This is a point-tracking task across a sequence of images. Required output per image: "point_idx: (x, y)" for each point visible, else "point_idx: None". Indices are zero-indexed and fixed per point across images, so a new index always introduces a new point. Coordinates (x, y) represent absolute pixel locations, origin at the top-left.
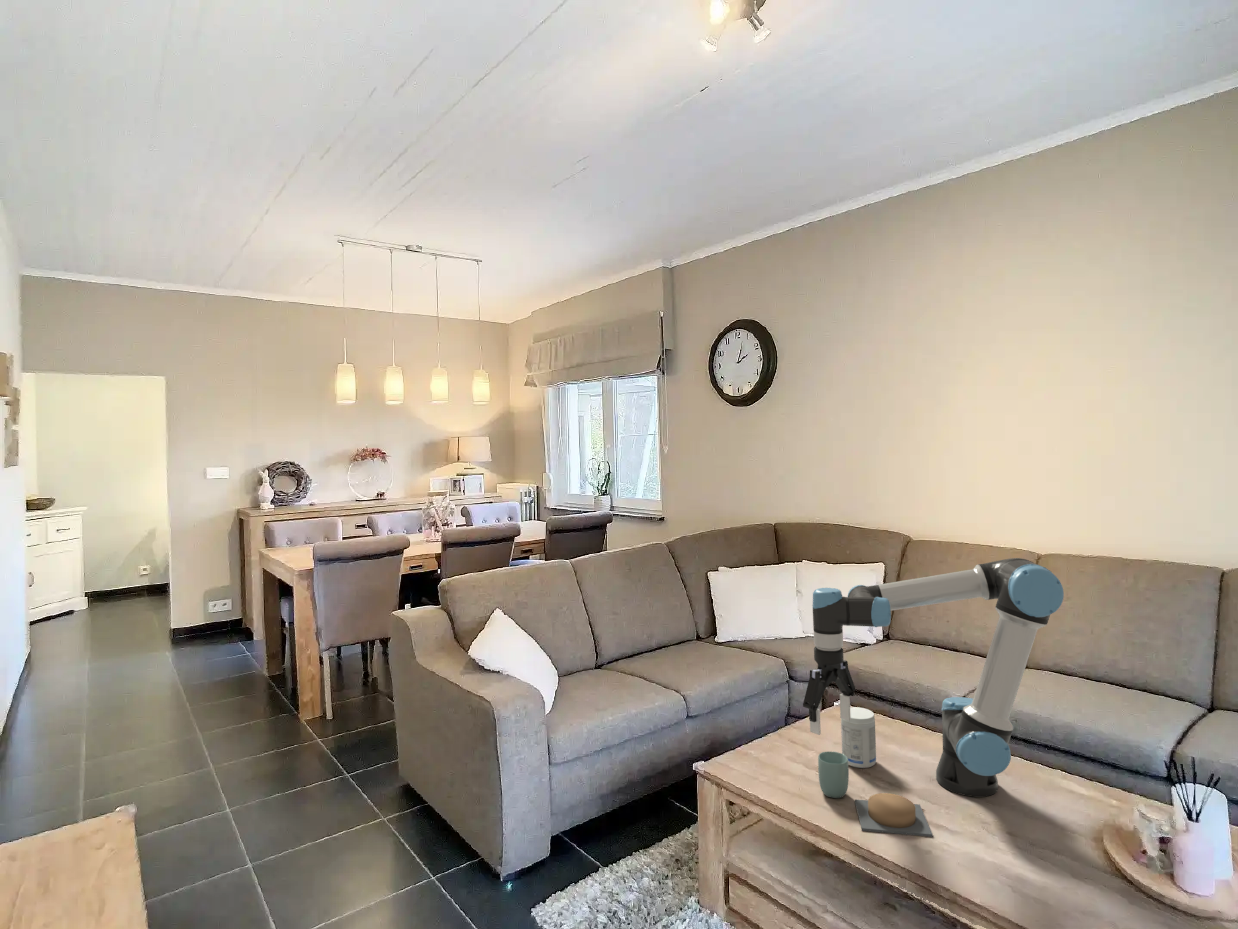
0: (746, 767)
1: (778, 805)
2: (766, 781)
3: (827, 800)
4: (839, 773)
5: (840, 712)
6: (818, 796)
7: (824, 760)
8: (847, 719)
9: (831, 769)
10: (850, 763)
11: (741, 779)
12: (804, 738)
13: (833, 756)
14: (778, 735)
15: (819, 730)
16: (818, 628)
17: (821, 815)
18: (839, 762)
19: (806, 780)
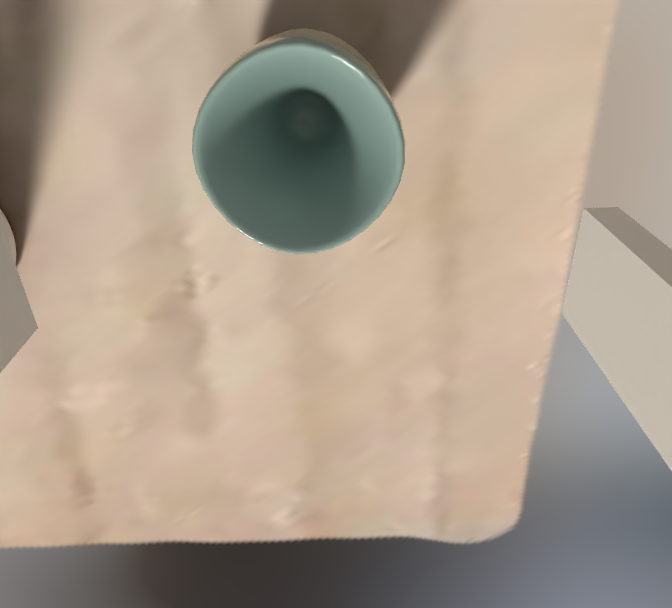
0: (397, 461)
1: None
2: (436, 360)
3: None
4: (352, 51)
5: (3, 363)
6: None
7: (302, 214)
8: (2, 248)
9: (390, 96)
10: (7, 232)
11: (491, 420)
12: (19, 480)
13: (238, 195)
14: (97, 538)
15: (625, 227)
16: None
17: (538, 11)
18: (234, 143)
19: (298, 271)
